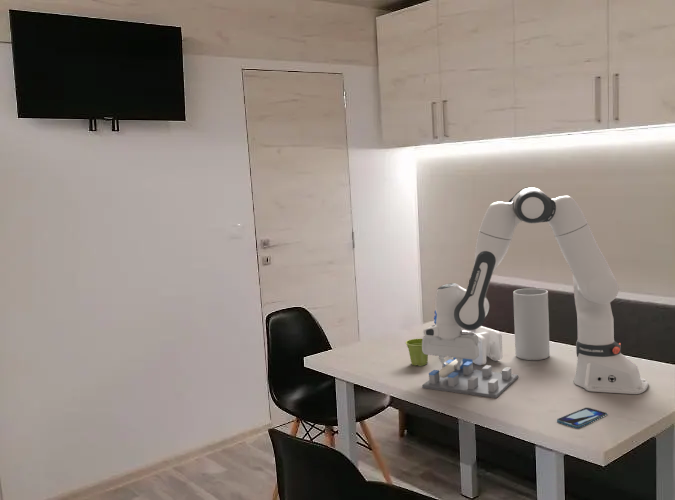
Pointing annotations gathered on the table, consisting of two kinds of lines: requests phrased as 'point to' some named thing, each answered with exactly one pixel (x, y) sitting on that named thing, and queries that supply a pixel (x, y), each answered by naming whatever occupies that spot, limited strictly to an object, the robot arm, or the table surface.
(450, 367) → the white capsule
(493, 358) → the cable organizer
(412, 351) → the plant pot
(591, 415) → the smartphone
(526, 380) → the table surface
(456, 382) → the grey peg board
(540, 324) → the cylinder vase
